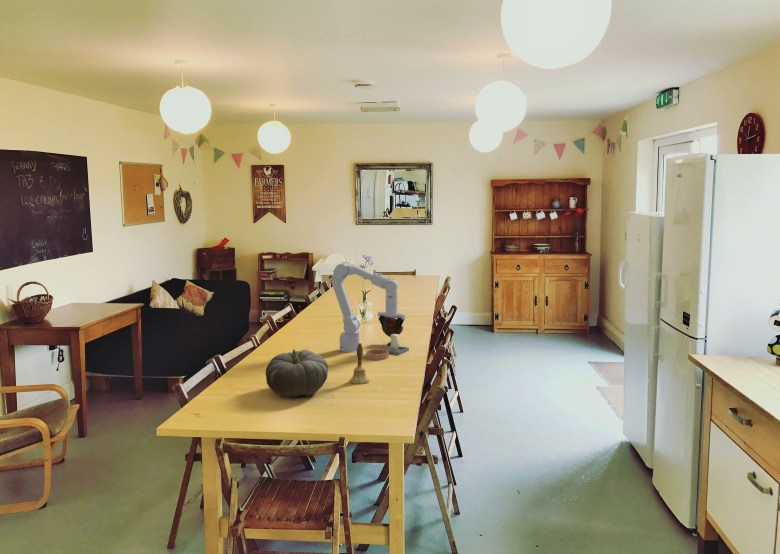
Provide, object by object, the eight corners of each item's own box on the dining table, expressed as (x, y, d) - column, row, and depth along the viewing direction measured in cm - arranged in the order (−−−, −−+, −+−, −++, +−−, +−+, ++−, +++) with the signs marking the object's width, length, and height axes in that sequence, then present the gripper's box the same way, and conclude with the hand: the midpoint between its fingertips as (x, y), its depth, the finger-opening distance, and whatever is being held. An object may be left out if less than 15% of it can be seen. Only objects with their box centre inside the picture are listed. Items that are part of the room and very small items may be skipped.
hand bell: (354, 377, 259) (354, 340, 257) (372, 379, 256) (372, 342, 254) (346, 382, 252) (345, 345, 250) (364, 385, 249) (364, 346, 247)
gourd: (317, 371, 258) (314, 334, 252) (340, 398, 237) (338, 357, 231) (259, 386, 247) (255, 347, 241) (278, 415, 226) (275, 373, 220)
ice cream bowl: (385, 348, 309) (385, 318, 307) (379, 342, 320) (379, 314, 318) (405, 346, 312) (405, 317, 310) (399, 341, 323) (399, 313, 321)
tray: (380, 353, 299) (380, 349, 299) (391, 349, 307) (391, 345, 307) (398, 356, 294) (398, 352, 293) (408, 351, 302) (408, 347, 302)
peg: (389, 351, 300) (389, 335, 299) (393, 349, 303) (393, 333, 302) (396, 352, 298) (396, 336, 296) (400, 350, 301) (400, 334, 300)
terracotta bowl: (362, 358, 289) (362, 352, 288) (374, 353, 298) (373, 347, 297) (381, 362, 283) (381, 355, 283) (392, 356, 292) (392, 350, 292)
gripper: (374, 304, 298) (374, 331, 299) (400, 307, 290) (400, 335, 292) (382, 302, 304) (381, 329, 305) (407, 305, 296) (407, 332, 298)
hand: (391, 332), depth 299 cm, fingers open, 7 cm apart
